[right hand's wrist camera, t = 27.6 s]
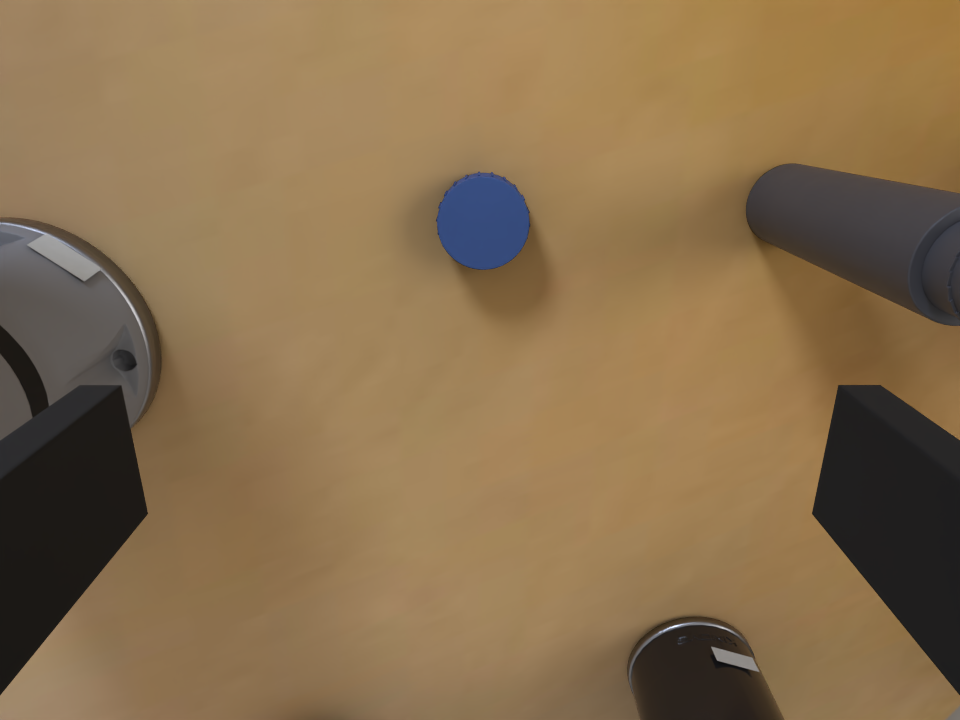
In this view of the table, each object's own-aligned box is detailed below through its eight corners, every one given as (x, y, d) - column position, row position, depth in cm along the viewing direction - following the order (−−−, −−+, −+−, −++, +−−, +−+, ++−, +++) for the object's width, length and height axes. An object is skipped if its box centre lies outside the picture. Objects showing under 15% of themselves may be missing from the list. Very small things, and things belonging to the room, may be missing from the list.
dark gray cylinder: (730, 222, 39) (917, 310, 22) (775, 149, 38) (1012, 183, 21) (794, 257, 40) (1022, 366, 23) (841, 186, 38) (1121, 248, 22)
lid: (544, 198, 39) (547, 203, 36) (501, 276, 40) (502, 286, 38) (464, 154, 38) (462, 157, 36) (423, 237, 39) (420, 244, 37)
